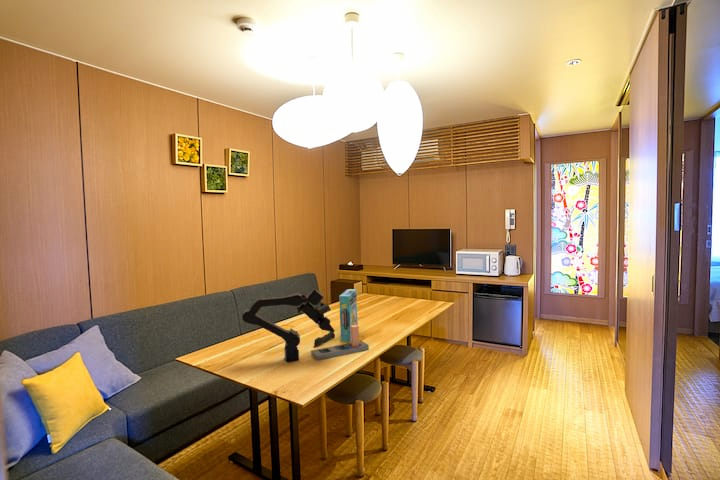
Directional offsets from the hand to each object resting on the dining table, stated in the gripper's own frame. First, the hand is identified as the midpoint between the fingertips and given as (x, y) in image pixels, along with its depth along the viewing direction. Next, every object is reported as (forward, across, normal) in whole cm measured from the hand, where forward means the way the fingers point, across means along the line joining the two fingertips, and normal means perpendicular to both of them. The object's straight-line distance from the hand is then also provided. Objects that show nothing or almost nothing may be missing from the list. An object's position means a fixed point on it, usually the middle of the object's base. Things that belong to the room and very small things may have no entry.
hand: (331, 329), depth 201 cm
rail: (+13, 0, +6) cm, 14 cm away
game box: (+22, +24, -3) cm, 33 cm away
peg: (+19, +2, 0) cm, 19 cm away
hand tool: (+10, +20, +9) cm, 24 cm away
